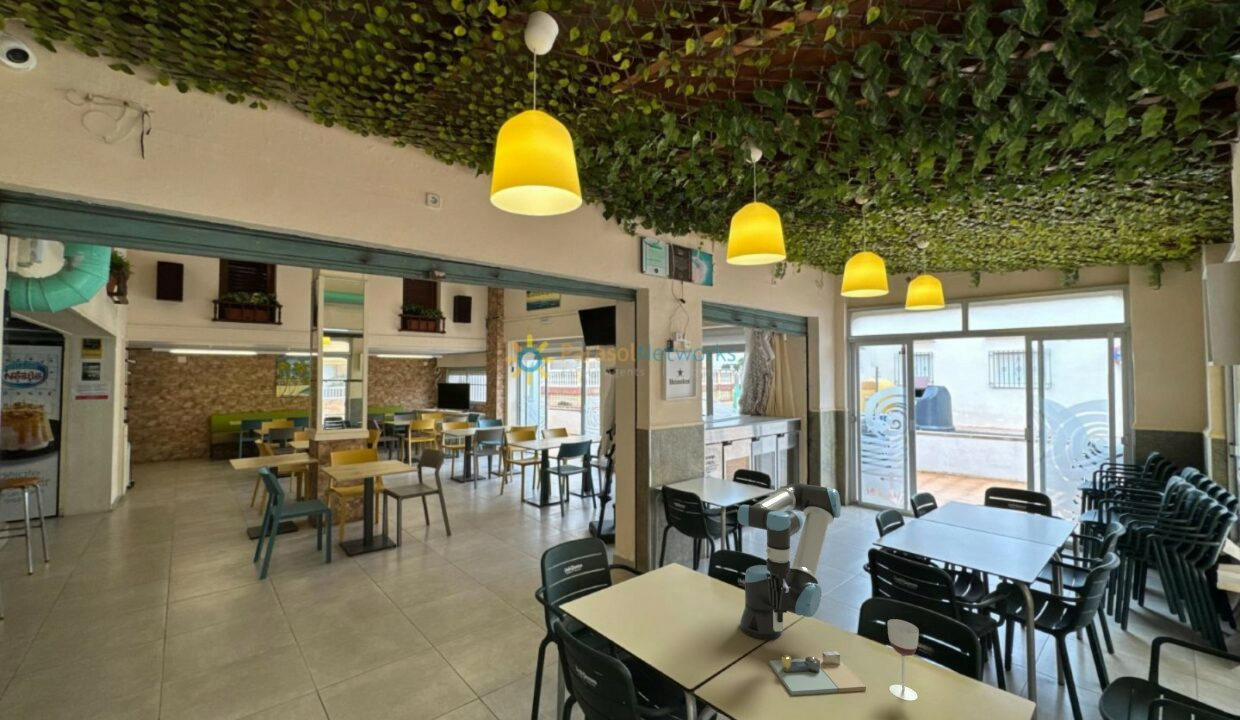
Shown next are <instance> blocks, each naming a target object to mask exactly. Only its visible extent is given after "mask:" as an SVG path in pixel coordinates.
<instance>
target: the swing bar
mask: <svg viewBox="0 0 1240 720" xmlns="http://www.w3.org/2000/svg"><path fill="white" fill-rule="evenodd" d="M817 658H818V657H814V656H806V658H804V659H805V661H801V662H791V659H792V657H791V656H790V655H788V654H783V655H782V656H781V660H782V671H783V672H785V673H790V672H805V671H810V672H813V673H818V672H819V671H820V661H819V660H818V659H817Z"/></svg>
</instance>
